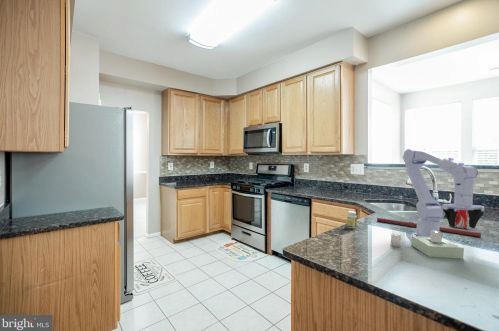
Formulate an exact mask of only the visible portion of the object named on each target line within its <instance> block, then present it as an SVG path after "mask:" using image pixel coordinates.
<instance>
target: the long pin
mask: <svg viewBox="0 0 499 331" xmlns="http://www.w3.org/2000/svg"><path fill="white" fill-rule="evenodd" d="M442 238H443V231H434V230H432V231H431V237H430V242H431V243H433V244H442Z"/></svg>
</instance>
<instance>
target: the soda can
mask: <svg viewBox="0 0 499 331" xmlns="http://www.w3.org/2000/svg"><path fill="white" fill-rule="evenodd" d="M464 209H467V208H464ZM455 211H456V212H458V213H457V215H456V219H455V227H454V228H456V227H457V228H456V229H467V228H468V225H469V215H468V211H467V210H455Z"/></svg>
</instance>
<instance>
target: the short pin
mask: <svg viewBox="0 0 499 331" xmlns="http://www.w3.org/2000/svg"><path fill="white" fill-rule="evenodd" d="M401 241H402V235H401V234H398V233H391V234H390V246H392V245H393V247H398V248H399V247H401V246H402V244H401V243H402V242H401Z"/></svg>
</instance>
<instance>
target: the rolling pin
mask: <svg viewBox="0 0 499 331" xmlns="http://www.w3.org/2000/svg"><path fill="white" fill-rule="evenodd" d="M376 221H377V222H379V221H380V222H379V223H385V222H386V223H387V224H392V223H393V225H398V224H399V225H400V226H405V227H409V228H417V222H414V221H404V220H399V219H398V220H397V219H391V218H384V217H377V218H376ZM440 232H445V233H452V234H458V235H463V236H464V235H465V236H471V237H477V238H478V237H479V238H481V237H482V232H480V231H473V230H467V229H462V228H455V227H445V226H440Z"/></svg>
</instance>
